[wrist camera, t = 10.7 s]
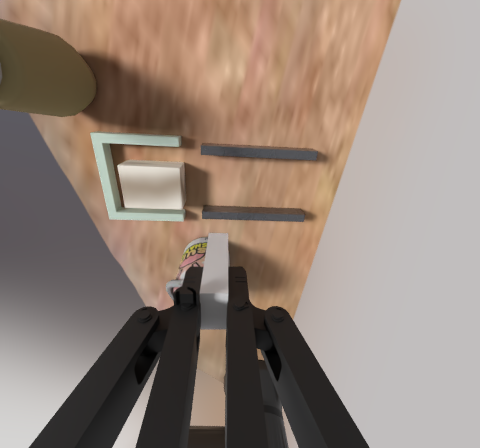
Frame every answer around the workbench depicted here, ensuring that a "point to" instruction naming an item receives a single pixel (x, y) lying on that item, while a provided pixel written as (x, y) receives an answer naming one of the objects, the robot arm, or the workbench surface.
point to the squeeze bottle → (42, 73)
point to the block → (153, 184)
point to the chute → (255, 212)
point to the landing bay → (109, 177)
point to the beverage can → (190, 262)
